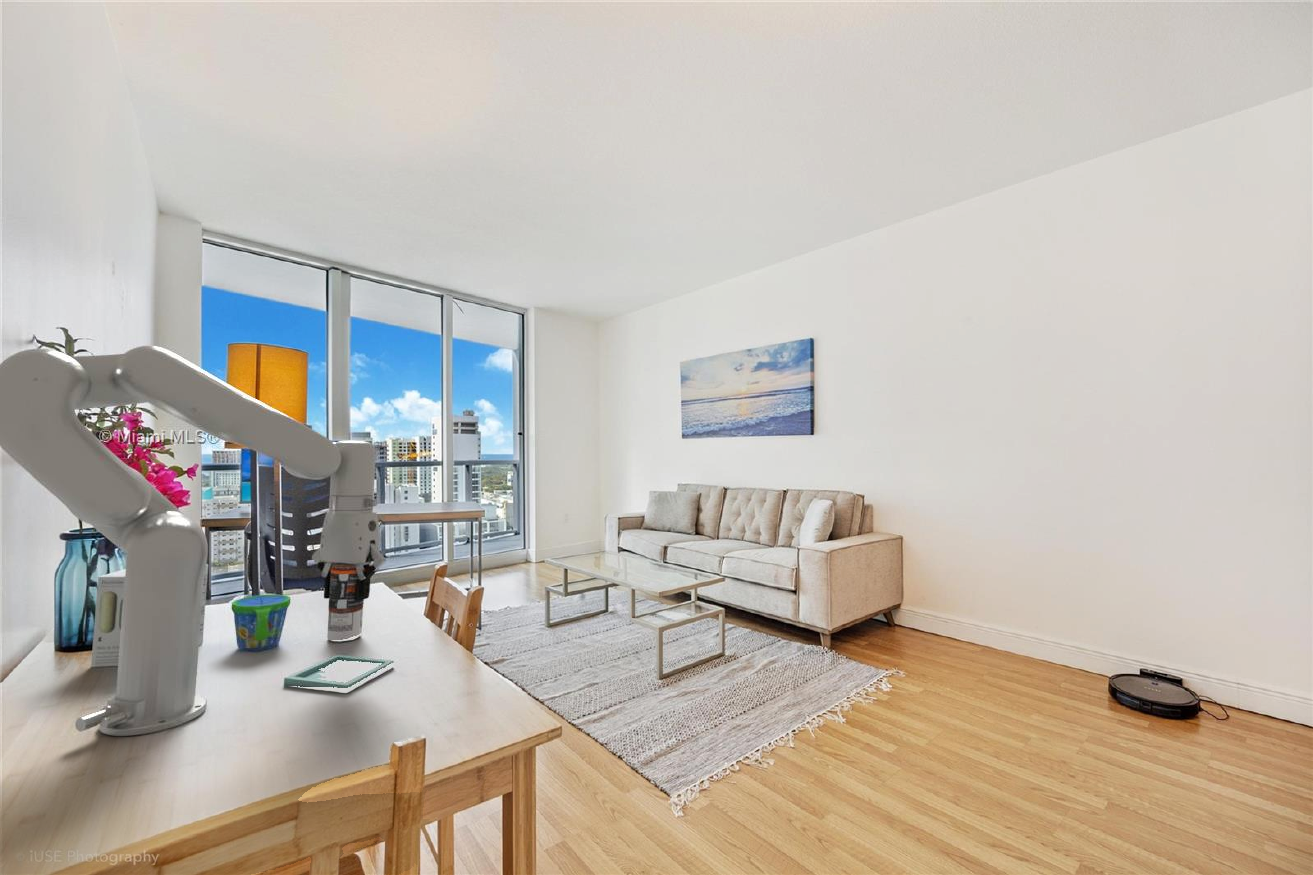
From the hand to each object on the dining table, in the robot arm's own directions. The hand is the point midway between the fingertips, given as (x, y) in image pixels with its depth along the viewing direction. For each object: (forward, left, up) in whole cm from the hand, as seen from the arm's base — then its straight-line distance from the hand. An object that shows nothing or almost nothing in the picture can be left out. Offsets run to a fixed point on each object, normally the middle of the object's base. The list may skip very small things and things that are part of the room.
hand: (346, 597), depth 108 cm
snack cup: (+10, +29, -15) cm, 34 cm away
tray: (0, 0, -15) cm, 15 cm away
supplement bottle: (0, 0, -3) cm, 3 cm away
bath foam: (+20, +16, -15) cm, 30 cm away
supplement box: (0, +45, -15) cm, 48 cm away
